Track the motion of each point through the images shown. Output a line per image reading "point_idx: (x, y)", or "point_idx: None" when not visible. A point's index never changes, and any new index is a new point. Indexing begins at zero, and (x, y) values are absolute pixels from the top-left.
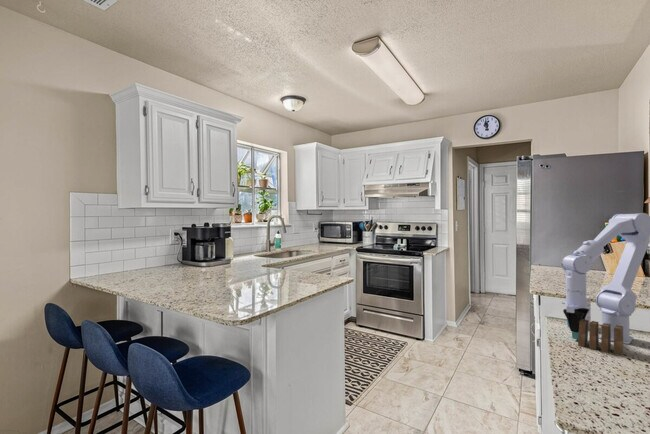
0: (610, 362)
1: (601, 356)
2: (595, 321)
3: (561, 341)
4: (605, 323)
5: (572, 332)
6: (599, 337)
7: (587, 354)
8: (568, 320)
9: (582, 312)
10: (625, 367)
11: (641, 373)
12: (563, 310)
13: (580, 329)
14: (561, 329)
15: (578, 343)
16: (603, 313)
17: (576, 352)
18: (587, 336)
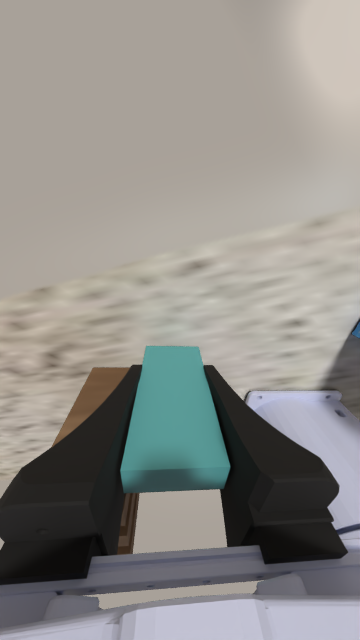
0: (16, 440)
1: (47, 422)
2: (123, 520)
3: (95, 315)
4: (120, 539)
5: (143, 364)
6: (248, 396)
7: (23, 399)
8: (95, 412)
9: (230, 508)
10: (15, 459)
11: (8, 477)
12: (1, 503)
13: (58, 438)
14: (316, 269)
15: (90, 374)
16: (334, 523)
17: (5, 377)
18: None
